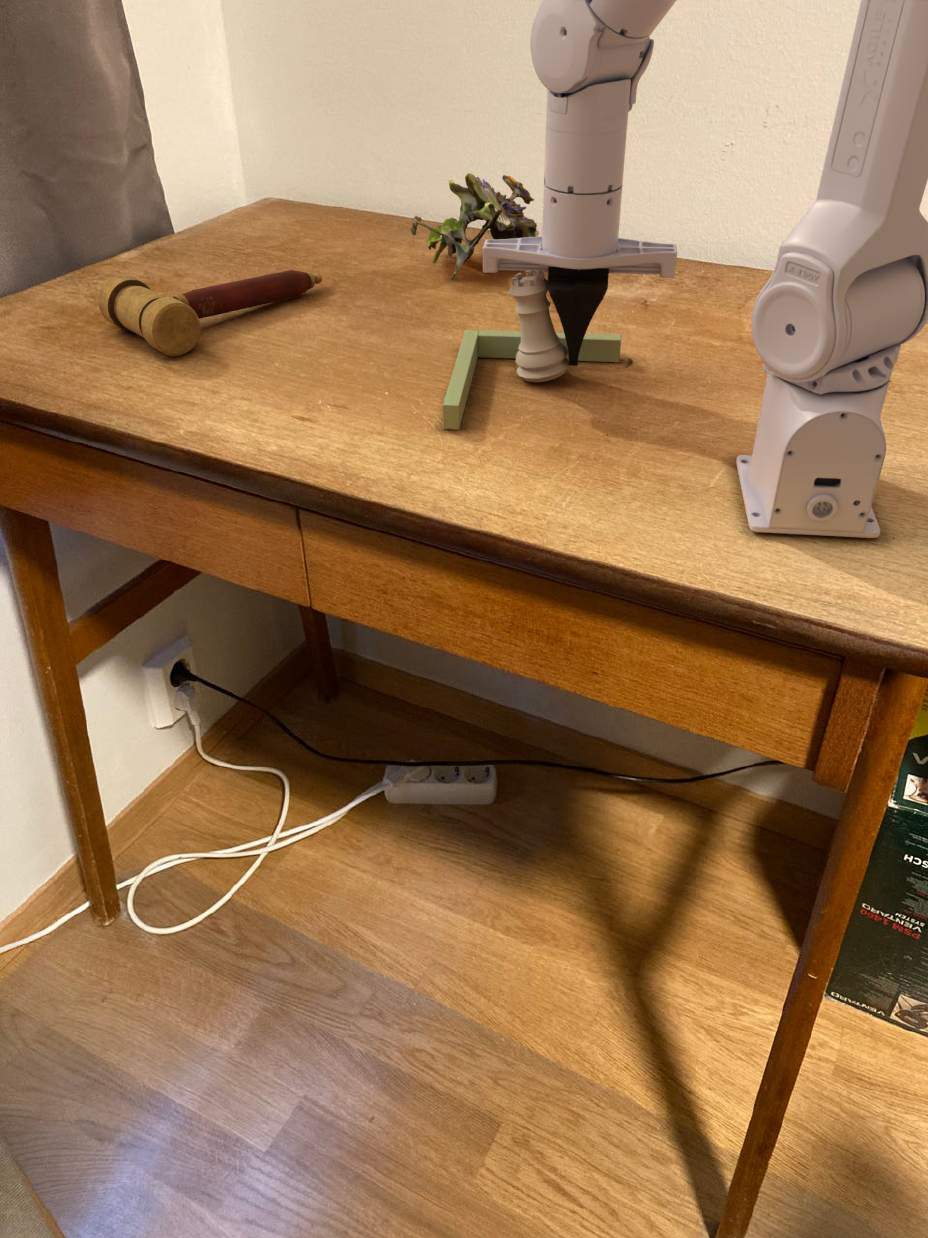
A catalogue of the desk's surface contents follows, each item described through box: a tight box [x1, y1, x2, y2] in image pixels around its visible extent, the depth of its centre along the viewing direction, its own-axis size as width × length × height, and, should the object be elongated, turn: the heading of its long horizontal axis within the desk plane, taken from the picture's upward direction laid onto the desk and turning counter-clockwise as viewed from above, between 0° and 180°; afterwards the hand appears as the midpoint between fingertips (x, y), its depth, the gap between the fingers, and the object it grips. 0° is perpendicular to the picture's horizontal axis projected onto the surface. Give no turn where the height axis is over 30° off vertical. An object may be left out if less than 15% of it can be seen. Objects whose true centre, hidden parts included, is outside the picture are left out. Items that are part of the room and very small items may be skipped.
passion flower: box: [410, 172, 540, 281], centre depth 100 cm, size 11×11×12 cm
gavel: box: [97, 269, 323, 357], centre depth 93 cm, size 21×5×10 cm
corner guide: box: [442, 329, 622, 431], centre depth 80 cm, size 15×13×2 cm
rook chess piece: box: [509, 271, 570, 383], centre depth 80 cm, size 4×4×8 cm
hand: (572, 360), depth 81 cm, fingers closed, pressing on rook chess piece
